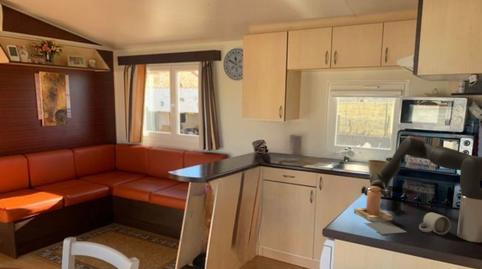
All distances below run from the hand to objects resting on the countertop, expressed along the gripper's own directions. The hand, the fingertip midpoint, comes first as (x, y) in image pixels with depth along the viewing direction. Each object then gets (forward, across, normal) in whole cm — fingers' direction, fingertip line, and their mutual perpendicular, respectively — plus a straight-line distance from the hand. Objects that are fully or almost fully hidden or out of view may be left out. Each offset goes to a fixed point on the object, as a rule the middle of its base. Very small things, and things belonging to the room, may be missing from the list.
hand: (375, 195), depth 167 cm
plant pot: (-58, -1, +8) cm, 59 cm away
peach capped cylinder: (+11, 0, +8) cm, 13 cm away
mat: (+24, +6, +8) cm, 26 cm away
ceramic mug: (+16, +24, +8) cm, 31 cm away
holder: (+11, 0, +8) cm, 14 cm away
